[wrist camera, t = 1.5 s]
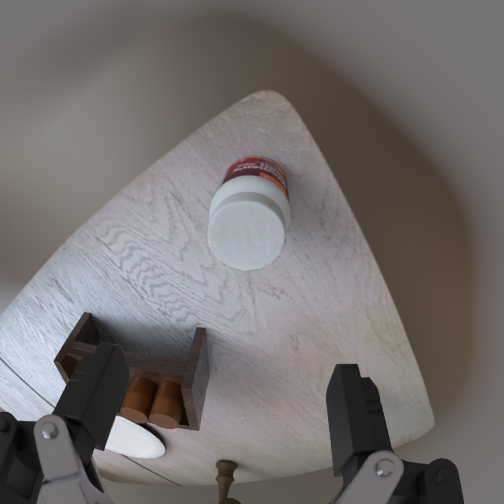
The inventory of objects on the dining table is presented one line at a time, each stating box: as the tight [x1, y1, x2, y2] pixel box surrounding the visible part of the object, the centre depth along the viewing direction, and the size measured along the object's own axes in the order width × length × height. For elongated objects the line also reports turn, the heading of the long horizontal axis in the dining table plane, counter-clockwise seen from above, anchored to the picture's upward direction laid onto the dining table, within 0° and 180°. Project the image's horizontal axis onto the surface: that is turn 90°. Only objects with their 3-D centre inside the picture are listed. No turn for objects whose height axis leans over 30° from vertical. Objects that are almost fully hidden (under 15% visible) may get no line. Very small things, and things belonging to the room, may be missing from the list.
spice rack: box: [54, 312, 209, 431], centre depth 37 cm, size 10×18×12 cm, turn 88°
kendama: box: [216, 461, 241, 504], centre depth 54 cm, size 6×10×20 cm, turn 149°
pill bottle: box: [207, 156, 291, 271], centre depth 25 cm, size 6×6×11 cm
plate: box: [105, 416, 165, 459], centre depth 58 cm, size 25×25×2 cm
